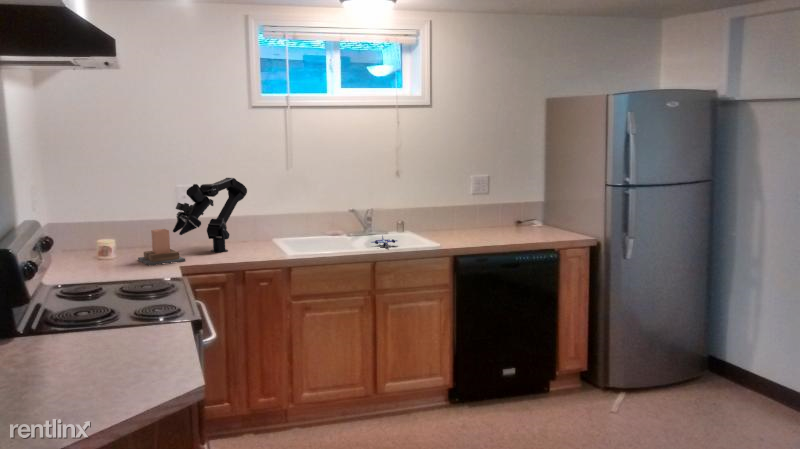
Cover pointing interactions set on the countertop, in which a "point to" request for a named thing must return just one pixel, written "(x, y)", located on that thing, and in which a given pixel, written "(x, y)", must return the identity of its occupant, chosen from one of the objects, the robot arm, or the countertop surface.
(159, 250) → the terracotta brick
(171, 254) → the tower base
